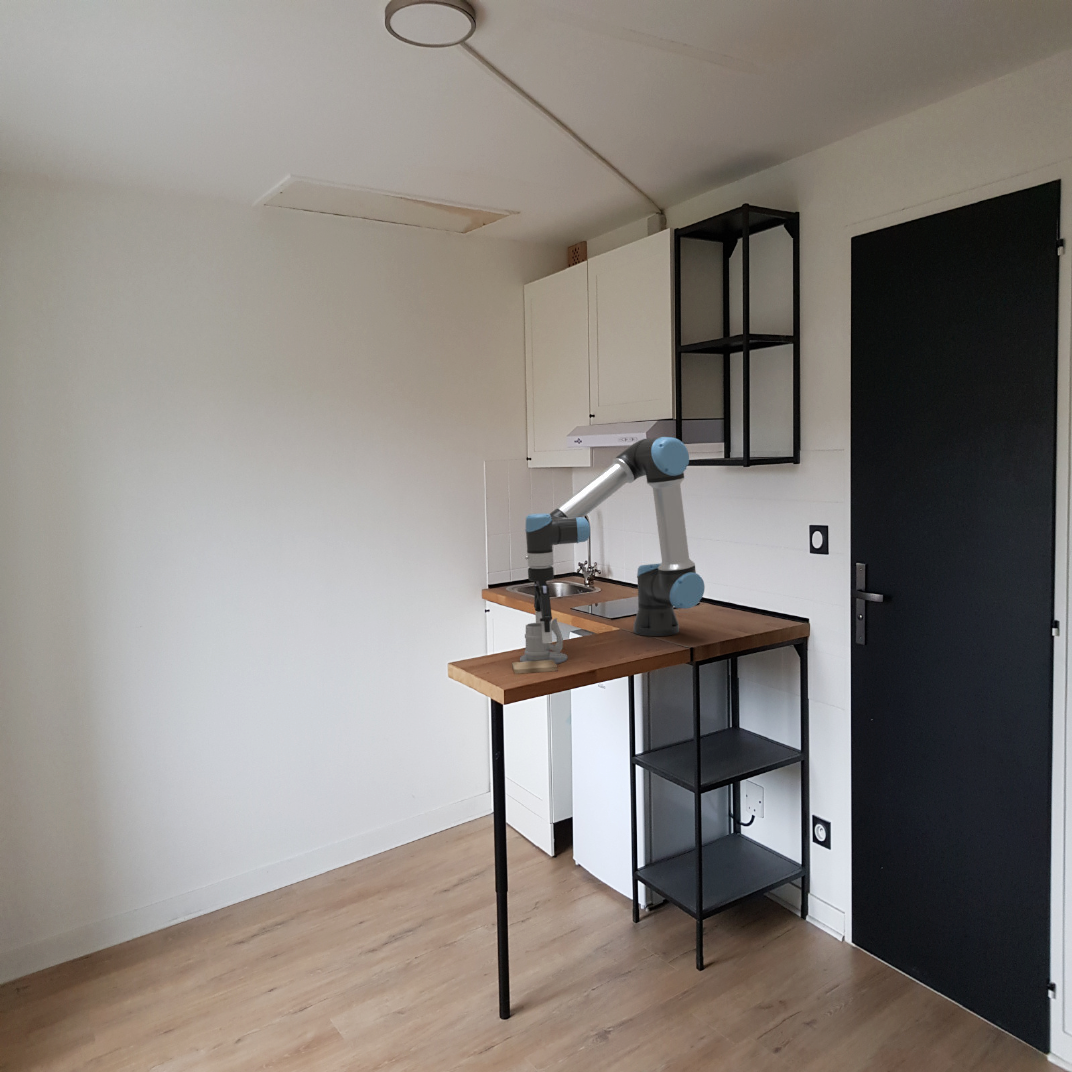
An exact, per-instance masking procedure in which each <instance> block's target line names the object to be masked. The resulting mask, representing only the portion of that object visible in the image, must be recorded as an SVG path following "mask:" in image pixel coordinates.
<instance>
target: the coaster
mask: <svg viewBox="0 0 1072 1072" xmlns="http://www.w3.org/2000/svg"><path fill="white" fill-rule="evenodd" d="M545 660H554V662H555V663H556V665H557V664H562V663H565V662H566V661H567V660H568V655H567V654H566V653H562V652H560V654H559V655H557V654H556V653H555V652H554V651H550V654H549V658H548V659H545ZM527 661H542V660H528V659H526V655H525V654H522V655H521V656H520V657H519V662H527Z"/></svg>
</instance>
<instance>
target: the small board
mask: <svg viewBox="0 0 1072 1072" xmlns="http://www.w3.org/2000/svg"><path fill="white" fill-rule="evenodd" d="M511 668H512V670H513V673H514V675H515V674H516V675H517V674H519V675H520V674H530V673H531V674H532V673H544V672H545V673H546V672H548V673H549V672H558V671H559V670H558V669H559V668H558V665H557V664H556V663H555V662H554V660H542V661H527V662H521V661H514V662H511Z"/></svg>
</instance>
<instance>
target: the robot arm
mask: <svg viewBox="0 0 1072 1072" xmlns="http://www.w3.org/2000/svg"><path fill="white" fill-rule="evenodd" d="M689 464H690V454H689V450H688V448H687V446H686V445H685V444H684V442H682V441H681V440H680V439H678V438H676V437H670V436H669V437H668V436H661V437H652V438H643V439H640V440H638V441H636V442H634V443H633V444H632V445H630V446H628V447H627V448H626V449H624V450H623V451H622V452H621V453H619V454H618V455H617V456H616V457H615V458H613V459H612V462H611V464H610V466H608V467H607V468H605V470H603V471H602V472H600V474H598V475H597V476H596V477H594V478H593V479H592V480H590V482H589V481H588V483H587V484H586V485H584V486H583V487H582V488H581V489H579V490H578V491H577V492H576V493H574V494H573V495H572V496H570V497H569V498H568V499H567V500H566V501H564V502H563V503H562V504H561V505H559V506H558V507H557V508H555V509H554V510H553V511H552V512H550V513H531V514H528V515H527V516H526V517H525V539H526V553H527V555H526V556H524V557H525V560H527V566H528V568H527V575H528V576H527V578H528V581H530V582H533V583H534V584H533V585H534V586H533V589H534V591H533V592H534V593H533V594H534V599H533V600H534V603H533V607H534V610H535V613H534V614H535V623H542V642H543V643H550V644H553V633H552V632H553V630H552V628H551V624H552V621H553V614H552V607H551V606H552V605H551V604H552V603H551V598H550V597H551V596H550V586H549V585H547V582H548V581H552V580H554V579H555V573H554V566H553V565H554V551H553V547H554V546H557V545H567V544H569V545H570V544H580V543H584V542H587V541H588V540H589V537H590V536H591V526H590V523H589V521H588V520H587V518H585V517H586V516H587V515H588V514H590V513H591V512H592V511H593V510H594V509H596V508H597V507H598V506H600V505H601V504H602V503H603V502H605V501H606V500H607V499H608V498H610V497H611V496H612V495H613V494H614V493H616V492H618V490H619V489H621V488H622V487H623V486H624V485H626V484H632V483H633V482H634V481H636V480H637V479H639V478H641V477H644V476H645V478H646V484H647V485H649V486H650V487H651V489H652V491H653V492H652V493H653V501H654V508H655V516H656V525H657V533H658V540H659V541H658V542H659V549H660V557H661V563H650V564H642V565H639V566H638V568H637V574H636V578H637V601H638V602H637V603H638V604H637V605H638V606H637V607H638V608H637V613H636V616H635V619H634V622H633V633H634V634H636V635H639V636H646V637H665V636H666V637H667V636H673V635H676V634H679V633H680V624H679V622H678V618H677V616H676V613H675V610H674V608H676V609H691V608H694V607H695V606H696V605H698V604H699V603H700V601H701V599H703V596H704V593H705V582H704V579H703V578H702V576H701V575H700V574H698V573H697V570H696V564H695V562H694V561H692V559H690V554H689V553H690V552H689V545H688V538H687V537H688V536H687V529H686V521H685V515H684V514H685V513H684V505H683V496H682V489H681V484H682V482H683V481H684V480H685V473H684V472H685V471H686V470H687V467H688V466H689Z"/></svg>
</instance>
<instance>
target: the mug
mask: <svg viewBox="0 0 1072 1072" xmlns="http://www.w3.org/2000/svg"><path fill="white" fill-rule="evenodd" d="M551 628H552V632H553V633H554V635H555V637H556V643H555V644H553V643H543V642H542V623H536V622H531V623H528V624H526V625H525V634H524V638H525V650H524V655H526V659H528V660H545V659H548V658H549V654H550V652H551V651H552V652H555V653H556V654H557V655H559V654H560V653H561V652H562V649H563V647H564V646H563V642H564V638H563V635H562V631H561V629H560V627H559V622H558V618H557V617H555V618H552V620H551Z"/></svg>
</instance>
